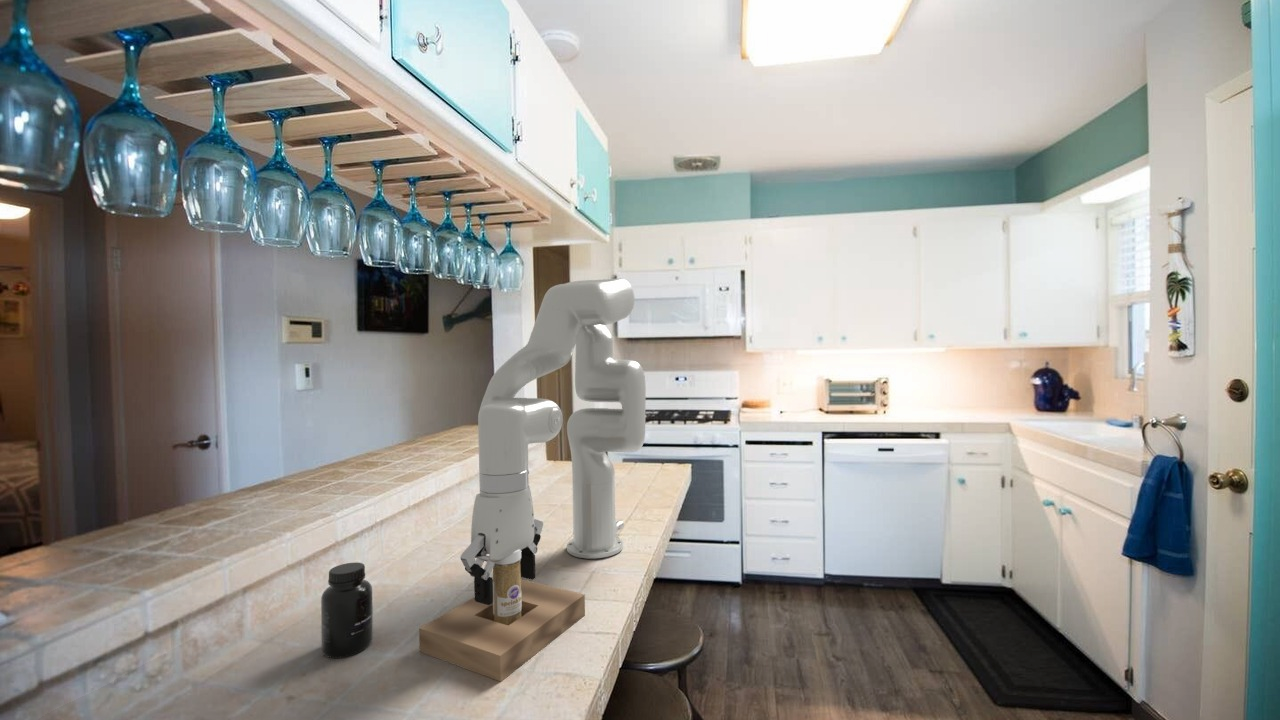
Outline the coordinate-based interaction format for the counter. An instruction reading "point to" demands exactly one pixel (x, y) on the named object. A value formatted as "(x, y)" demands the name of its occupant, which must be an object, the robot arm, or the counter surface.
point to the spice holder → (501, 631)
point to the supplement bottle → (346, 611)
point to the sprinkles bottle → (507, 589)
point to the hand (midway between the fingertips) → (506, 589)
